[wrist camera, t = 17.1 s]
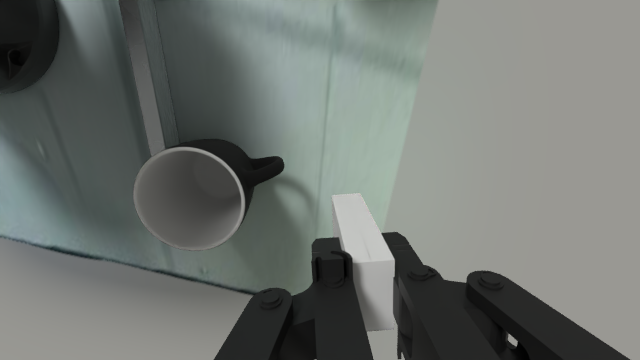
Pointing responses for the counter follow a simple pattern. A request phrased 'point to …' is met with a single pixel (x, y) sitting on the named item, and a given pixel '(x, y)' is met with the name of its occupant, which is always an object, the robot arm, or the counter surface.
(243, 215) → the mug
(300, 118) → the counter surface
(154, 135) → the rail
